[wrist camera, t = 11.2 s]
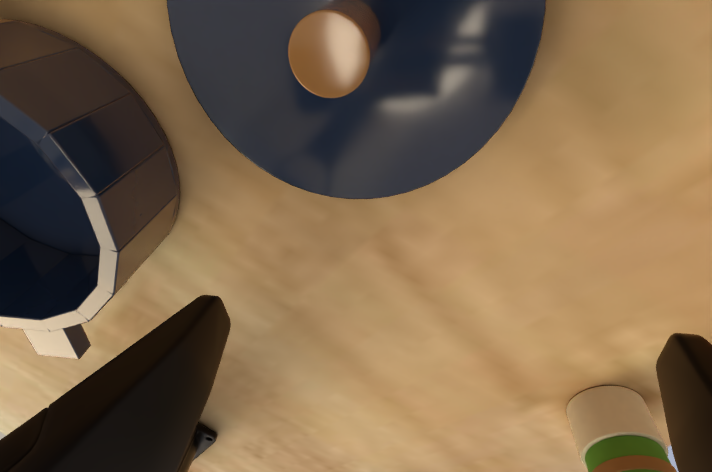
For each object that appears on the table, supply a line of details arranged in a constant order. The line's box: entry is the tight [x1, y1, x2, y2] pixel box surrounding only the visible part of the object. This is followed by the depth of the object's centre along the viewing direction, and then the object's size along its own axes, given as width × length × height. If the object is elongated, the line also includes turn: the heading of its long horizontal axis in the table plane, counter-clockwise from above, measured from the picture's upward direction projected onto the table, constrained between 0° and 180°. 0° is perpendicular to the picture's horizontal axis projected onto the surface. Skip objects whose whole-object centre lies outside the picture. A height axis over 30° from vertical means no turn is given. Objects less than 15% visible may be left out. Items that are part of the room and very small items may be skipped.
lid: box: [167, 0, 546, 199], centre depth 15 cm, size 14×14×5 cm
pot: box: [0, 19, 180, 359], centre depth 19 cm, size 13×18×6 cm
